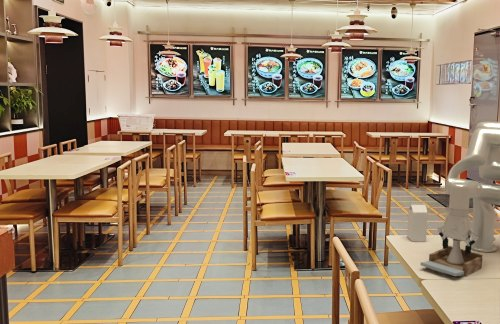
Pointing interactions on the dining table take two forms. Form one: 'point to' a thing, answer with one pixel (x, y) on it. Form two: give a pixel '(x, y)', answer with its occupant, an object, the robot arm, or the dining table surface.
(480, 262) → the wooden tray
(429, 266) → the grey flat panel
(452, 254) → the flask
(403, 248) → the dining table surface
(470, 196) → the robot arm
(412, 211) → the milk carton
